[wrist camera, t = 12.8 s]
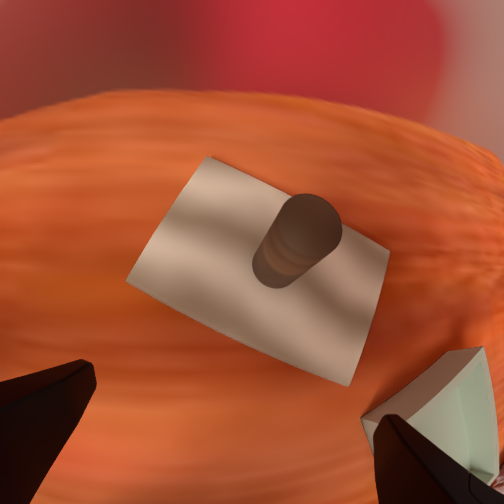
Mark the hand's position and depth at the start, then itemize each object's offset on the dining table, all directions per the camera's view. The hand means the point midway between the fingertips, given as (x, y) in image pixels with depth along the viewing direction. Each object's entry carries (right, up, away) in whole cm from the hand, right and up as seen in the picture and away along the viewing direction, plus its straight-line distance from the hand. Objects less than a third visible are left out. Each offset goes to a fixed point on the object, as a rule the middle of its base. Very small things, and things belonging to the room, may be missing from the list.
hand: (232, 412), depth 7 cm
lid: (+2, +3, +16) cm, 16 cm away
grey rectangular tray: (+18, -15, +12) cm, 27 cm away
